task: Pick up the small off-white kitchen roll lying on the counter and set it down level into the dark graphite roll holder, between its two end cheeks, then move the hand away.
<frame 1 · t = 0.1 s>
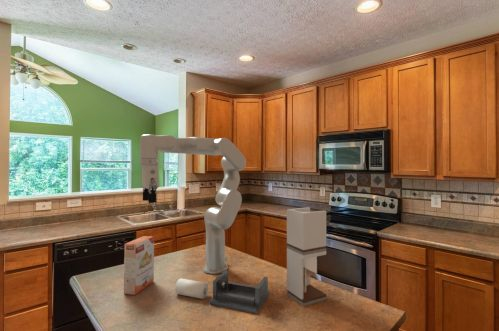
hand: (149, 201, 121), 37 cm above the countertop, tool pointing down, fingers open, 9 cm apart
kitchen roll: (191, 288, 112), point 3 cm above the countertop
roll holder: (240, 299, 108), on the countertop
cracker box: (139, 288, 119), on the countertop
white stand: (306, 297, 110), on the countertop
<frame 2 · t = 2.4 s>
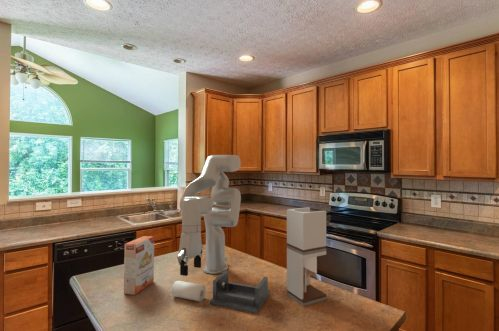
hand: (190, 271, 111), 10 cm above the countertop, tool pointing down, fingers open, 9 cm apart
kitchen roll: (188, 290, 110), point 3 cm above the countertop, tilted 45°
everything else where it was.
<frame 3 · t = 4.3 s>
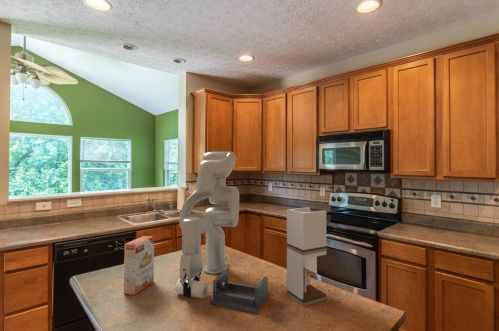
hand: (191, 292, 112), 1 cm above the countertop, tool pointing down, fingers closed on kitchen roll, 6 cm apart
kitchen roll: (191, 288, 112), point 3 cm above the countertop, tilted 8°, touching gripper
everything else where it was.
when the fingers open (5 cm above the countertop, at t = 10.1 s): kitchen roll drops 2 cm, resting on roll holder.
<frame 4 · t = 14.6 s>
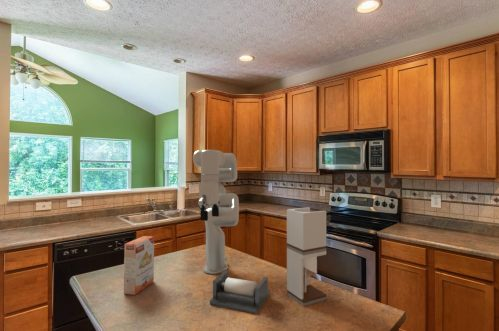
hand: (209, 218, 118), 30 cm above the countertop, tool pointing down, fingers open, 9 cm apart
kitchen roll: (240, 287, 108), point 4 cm above the countertop, tilted 8°, touching roll holder
everything else where it was.
at the end: kitchen roll 0.1 cm off-centre on the roll holder, point 4.5 cm above the roll holder's base; kitchen roll touching roll holder; the gripper is holding nothing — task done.
